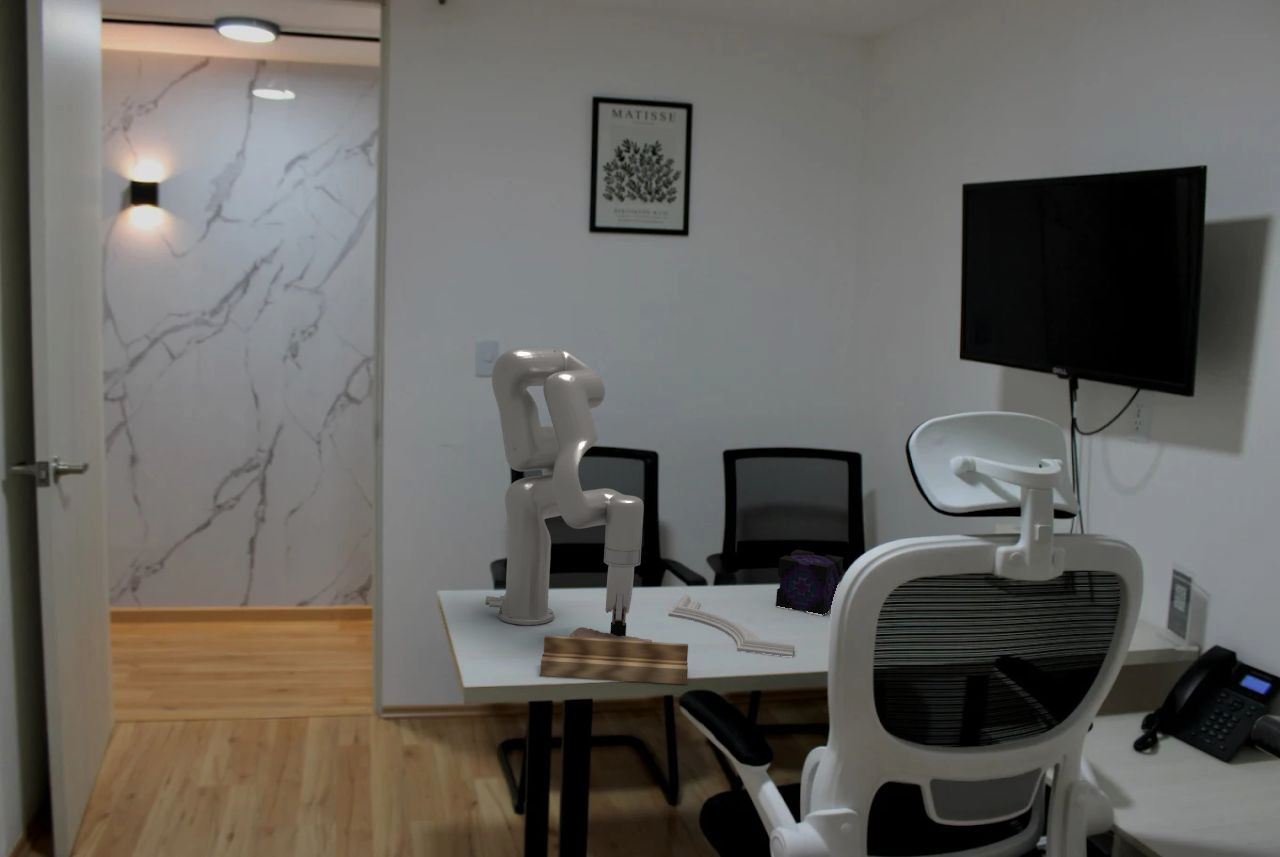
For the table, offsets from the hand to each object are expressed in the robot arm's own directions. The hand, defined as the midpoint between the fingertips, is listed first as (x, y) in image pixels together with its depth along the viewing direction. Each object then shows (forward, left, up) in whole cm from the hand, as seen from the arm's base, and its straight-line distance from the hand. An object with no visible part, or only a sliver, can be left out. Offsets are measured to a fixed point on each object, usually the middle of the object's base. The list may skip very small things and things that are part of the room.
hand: (617, 641), depth 231 cm
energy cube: (+45, +40, -2) cm, 60 cm away
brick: (-2, -6, -2) cm, 7 cm away
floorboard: (0, -14, -1) cm, 14 cm away
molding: (+25, +18, -2) cm, 31 cm away
